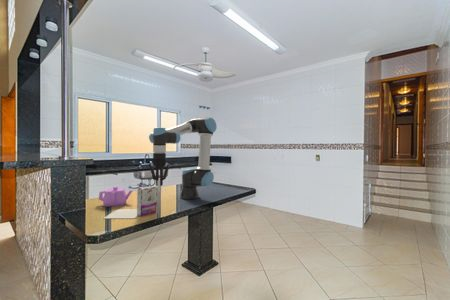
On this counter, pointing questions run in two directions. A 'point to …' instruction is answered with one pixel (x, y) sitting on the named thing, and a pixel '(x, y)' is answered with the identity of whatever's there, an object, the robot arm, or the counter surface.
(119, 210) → the mat
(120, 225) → the counter surface
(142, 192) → the candy bar box
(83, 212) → the counter surface
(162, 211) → the counter surface
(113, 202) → the teakettle
